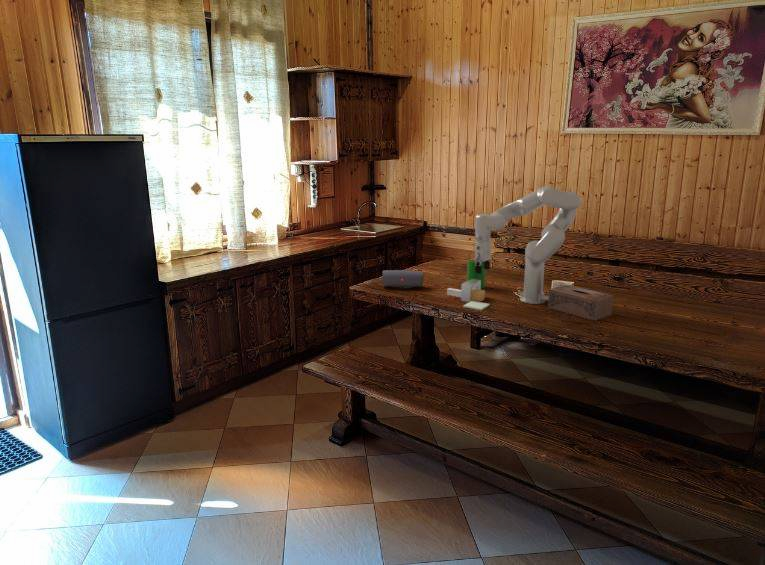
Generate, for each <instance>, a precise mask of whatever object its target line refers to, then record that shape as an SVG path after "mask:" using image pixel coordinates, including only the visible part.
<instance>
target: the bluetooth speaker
mask: <svg viewBox="0 0 765 565" xmlns="http://www.w3.org/2000/svg"><path fill="white" fill-rule="evenodd" d="M381 276H382V278H381V284H382V286H389V287H392V288H394V287H404V288H403V289H412V288H415V287H416V288H417V287H423V285H424V271H421V270H420V271H419V270H408V269H406V270H405V269H401V270H400V269H393V270H392V269H390V270H387V269H386V270H382V275H381Z"/></svg>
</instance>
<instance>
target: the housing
mask: <svg viewBox="0 0 765 565" xmlns="http://www.w3.org/2000/svg"><path fill="white" fill-rule="evenodd" d="M460 287H461V288H460V290H461V297H460V301H461V302H466V303H469V302H471V301H473V300H472V292H473V290H475V289H479V290H482V289H481V280H477V279H471V280H469V281H467V280H466V281H464V282H462V283H461V286H460Z"/></svg>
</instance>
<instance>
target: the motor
mask: <svg viewBox="0 0 765 565" xmlns="http://www.w3.org/2000/svg"><path fill="white" fill-rule="evenodd" d="M479 263H480V262H479ZM466 268H467V269H466V270H467V271H466V282H467V281H469V280H471V279H477V280H481V290H483V289H485V287H486V284H485V283H486V269H484V262H483V261H482V263H481V274H479V273H475V261H474V260H471V258H468V259H467V267H466Z"/></svg>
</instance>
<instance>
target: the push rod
mask: <svg viewBox="0 0 765 565" xmlns="http://www.w3.org/2000/svg"><path fill="white" fill-rule="evenodd" d="M450 295H451V296H450ZM446 296H450V297H455V296H456V298H461V289H457V288H450V287H448V288H447V289H446Z"/></svg>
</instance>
